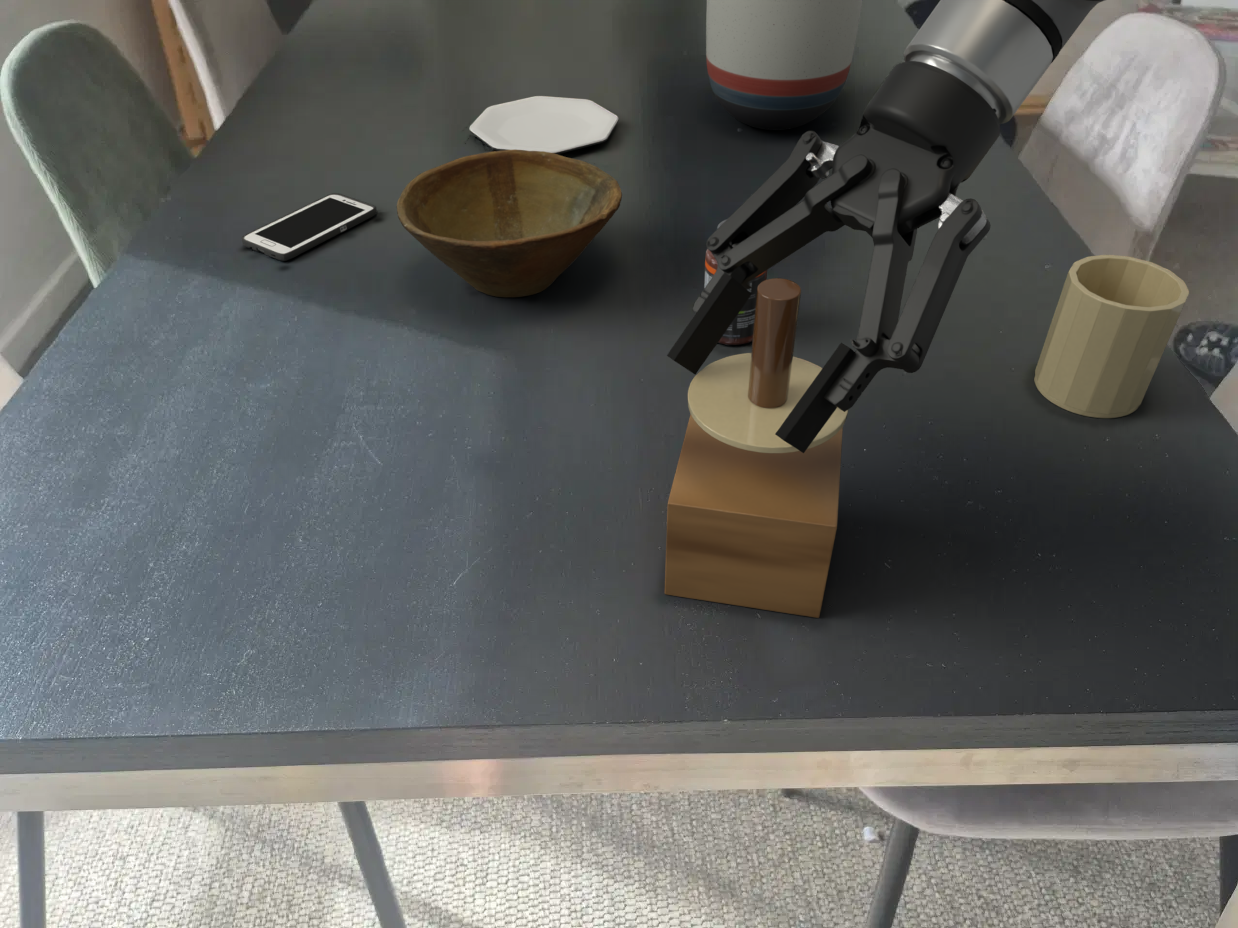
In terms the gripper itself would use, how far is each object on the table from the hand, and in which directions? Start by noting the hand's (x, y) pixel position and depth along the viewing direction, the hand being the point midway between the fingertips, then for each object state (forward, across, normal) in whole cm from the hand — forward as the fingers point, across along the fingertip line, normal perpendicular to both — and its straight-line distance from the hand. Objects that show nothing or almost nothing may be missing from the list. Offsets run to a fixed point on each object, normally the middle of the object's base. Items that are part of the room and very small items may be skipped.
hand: (732, 402), depth 60 cm
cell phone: (+13, +70, -9) cm, 72 cm away
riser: (+9, 0, -13) cm, 16 cm away
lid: (-1, 0, -3) cm, 3 cm away
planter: (-34, +62, -55) cm, 90 cm away
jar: (-19, -3, -41) cm, 45 cm away
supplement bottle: (-5, +24, -27) cm, 36 cm away
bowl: (+3, +46, -18) cm, 49 cm away
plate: (-14, +78, -35) cm, 87 cm away
